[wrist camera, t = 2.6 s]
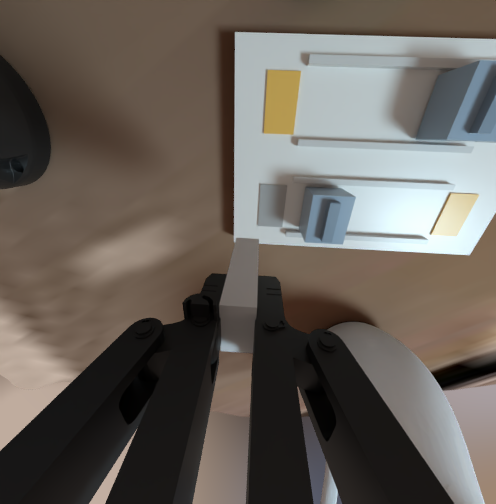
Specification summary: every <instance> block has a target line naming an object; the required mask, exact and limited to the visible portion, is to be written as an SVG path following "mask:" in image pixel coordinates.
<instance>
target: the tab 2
mask: <svg viewBox="0 0 496 504" xmlns="http://www.w3.org/2000/svg"><path fill="white" fill-rule="evenodd" d="M415 140H439V141H485V142H496V61H492V60H479V61H476V62H474V63H471V64H468V65H465V66H463V67H460V68H457V69H454V70H451V71H449V72H446V73H443V74H440V75H438V78H437V81H436V83H435V86H434V89H433V92H432V94H431V97H430V100H429V103H428V105H427V108H426V111H425V114H424V116H423V119H422V122H421V125H420V127H419V130H418V133H417V136H416V139H415Z"/></svg>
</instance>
